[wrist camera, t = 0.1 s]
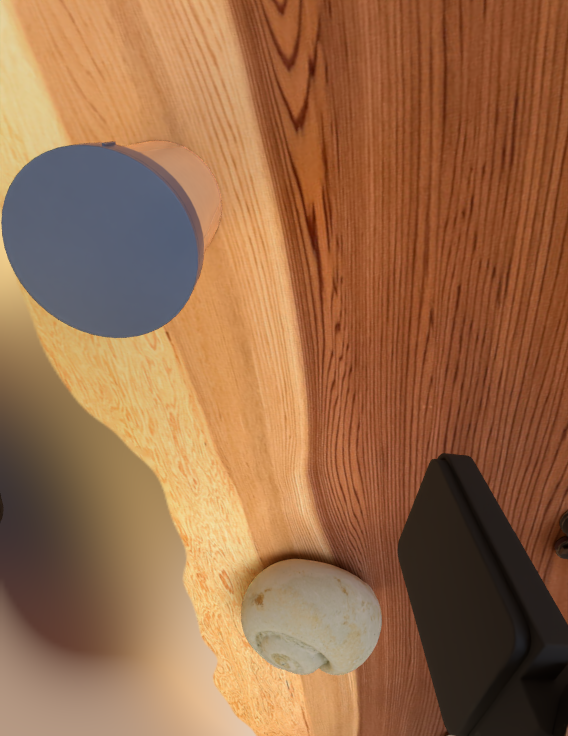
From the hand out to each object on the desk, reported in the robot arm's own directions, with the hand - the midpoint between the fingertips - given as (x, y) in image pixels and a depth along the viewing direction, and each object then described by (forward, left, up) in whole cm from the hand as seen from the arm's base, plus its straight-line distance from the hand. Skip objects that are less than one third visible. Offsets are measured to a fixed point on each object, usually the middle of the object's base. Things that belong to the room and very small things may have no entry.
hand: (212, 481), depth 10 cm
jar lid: (-2, -5, -9) cm, 11 cm away
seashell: (+30, +10, -20) cm, 38 cm away
